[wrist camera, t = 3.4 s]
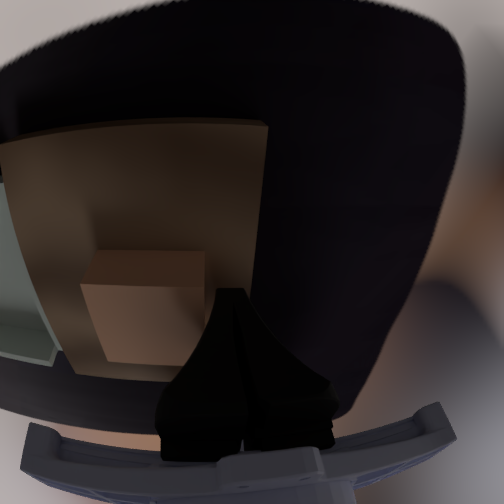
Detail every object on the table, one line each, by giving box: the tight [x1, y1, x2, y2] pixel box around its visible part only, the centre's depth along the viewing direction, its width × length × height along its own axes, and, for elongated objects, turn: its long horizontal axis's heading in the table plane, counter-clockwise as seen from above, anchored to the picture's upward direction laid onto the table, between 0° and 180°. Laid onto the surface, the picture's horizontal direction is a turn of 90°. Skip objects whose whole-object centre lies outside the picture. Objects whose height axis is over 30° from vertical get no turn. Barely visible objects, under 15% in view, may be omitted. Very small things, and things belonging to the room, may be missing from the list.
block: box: [80, 250, 205, 366], centre depth 13 cm, size 5×5×2 cm
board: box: [0, 117, 268, 382], centre depth 14 cm, size 16×12×2 cm
